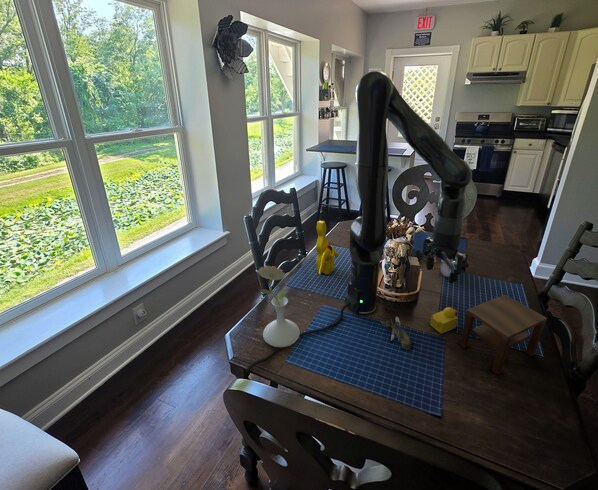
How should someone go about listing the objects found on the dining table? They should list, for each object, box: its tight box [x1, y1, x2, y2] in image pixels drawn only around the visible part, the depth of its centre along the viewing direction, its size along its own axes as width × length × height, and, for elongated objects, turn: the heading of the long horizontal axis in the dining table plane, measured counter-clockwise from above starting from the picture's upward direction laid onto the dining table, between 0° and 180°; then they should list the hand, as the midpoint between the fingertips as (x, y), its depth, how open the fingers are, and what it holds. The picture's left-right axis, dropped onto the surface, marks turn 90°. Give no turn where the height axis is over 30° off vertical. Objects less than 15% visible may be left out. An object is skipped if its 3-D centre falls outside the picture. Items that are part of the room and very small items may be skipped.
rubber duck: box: [429, 306, 459, 335], centre depth 102 cm, size 8×5×6 cm, turn 115°
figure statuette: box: [315, 220, 340, 275], centre depth 132 cm, size 18×8×22 cm, turn 148°
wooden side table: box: [458, 294, 548, 375], centre depth 91 cm, size 16×12×13 cm
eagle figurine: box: [380, 316, 413, 350], centre depth 97 cm, size 8×7×9 cm
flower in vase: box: [257, 265, 301, 349], centre depth 96 cm, size 13×11×25 cm
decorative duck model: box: [431, 256, 470, 278], centre depth 129 cm, size 15×8×15 cm
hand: (440, 275), depth 100 cm, fingers open, 8 cm apart
